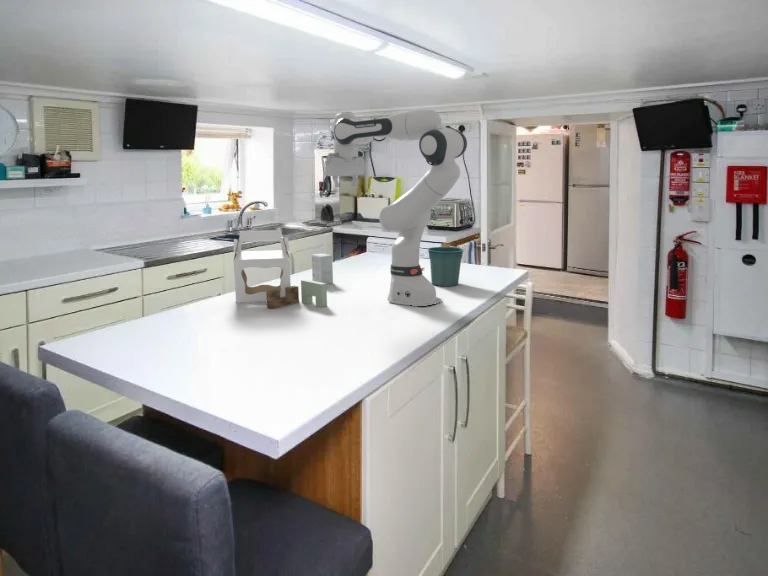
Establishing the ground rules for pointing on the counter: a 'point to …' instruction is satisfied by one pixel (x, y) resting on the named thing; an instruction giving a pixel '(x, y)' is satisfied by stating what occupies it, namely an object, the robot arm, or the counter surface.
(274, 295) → the upright
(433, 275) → the flower pot
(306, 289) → the crosspiece
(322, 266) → the small box
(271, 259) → the gable box
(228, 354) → the counter surface
